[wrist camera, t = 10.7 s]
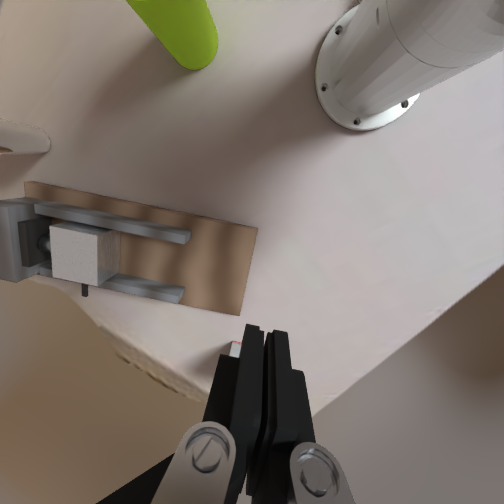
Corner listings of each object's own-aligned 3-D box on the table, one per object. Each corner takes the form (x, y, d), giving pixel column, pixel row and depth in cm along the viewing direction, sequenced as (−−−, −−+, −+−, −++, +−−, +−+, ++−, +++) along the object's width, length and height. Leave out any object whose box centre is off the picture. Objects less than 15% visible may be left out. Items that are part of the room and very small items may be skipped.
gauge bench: (257, 228, 36) (255, 242, 29) (240, 311, 40) (234, 341, 33) (33, 181, 36) (-25, 184, 29) (40, 269, 41) (-8, 290, 33)
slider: (120, 227, 35) (97, 235, 31) (118, 289, 39) (97, 306, 34) (58, 214, 35) (25, 220, 31) (61, 277, 39) (32, 293, 34)
